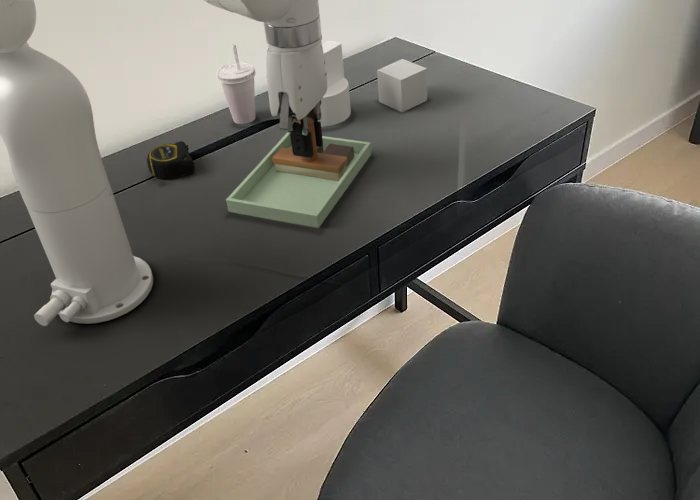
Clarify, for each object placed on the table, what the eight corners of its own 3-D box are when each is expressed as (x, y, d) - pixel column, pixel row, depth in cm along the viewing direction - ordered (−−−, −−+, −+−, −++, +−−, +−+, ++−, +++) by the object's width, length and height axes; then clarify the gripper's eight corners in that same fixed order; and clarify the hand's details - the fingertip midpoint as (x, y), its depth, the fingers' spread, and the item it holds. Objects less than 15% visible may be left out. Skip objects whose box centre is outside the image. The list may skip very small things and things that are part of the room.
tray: (319, 232, 102) (317, 215, 100) (229, 215, 107) (225, 199, 105) (371, 158, 116) (370, 142, 115) (290, 146, 121) (288, 131, 120)
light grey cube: (378, 102, 131) (376, 69, 128) (403, 90, 134) (402, 58, 131) (402, 112, 128) (400, 80, 124) (427, 100, 130) (426, 68, 127)
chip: (344, 170, 113) (343, 159, 112) (320, 166, 114) (319, 156, 113) (354, 156, 116) (353, 146, 115) (330, 153, 117) (329, 143, 116)
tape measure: (197, 178, 116) (192, 157, 113) (153, 188, 114) (147, 167, 112) (191, 157, 121) (186, 137, 119) (148, 167, 120) (143, 146, 117)
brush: (340, 181, 110) (335, 131, 105) (274, 171, 114) (266, 122, 109) (348, 170, 113) (344, 120, 107) (283, 160, 116) (276, 112, 111)
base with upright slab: (328, 135, 123) (321, 67, 116) (288, 122, 128) (278, 56, 121) (361, 113, 128) (356, 46, 121) (321, 101, 133) (314, 36, 126)
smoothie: (255, 132, 126) (242, 54, 117) (220, 130, 127) (204, 52, 119) (268, 114, 131) (256, 37, 122) (234, 112, 132) (220, 36, 124)
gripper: (294, 7, 107) (308, 121, 118) (239, 52, 95) (260, 174, 107) (342, 10, 104) (351, 127, 116) (292, 57, 93) (308, 182, 104)
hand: (308, 149), depth 111 cm, fingers closed on brush, 2 cm apart
